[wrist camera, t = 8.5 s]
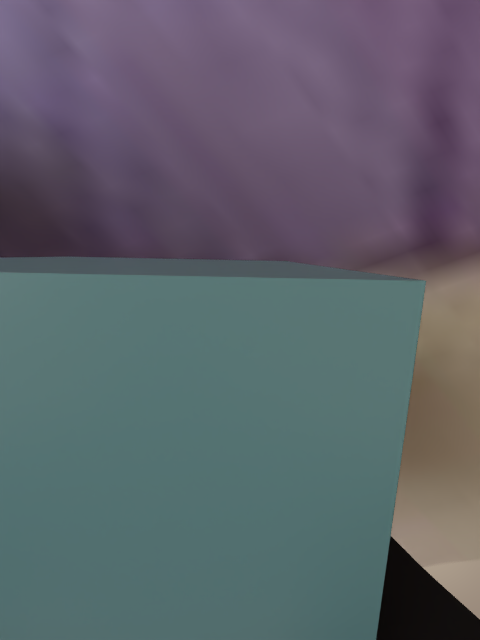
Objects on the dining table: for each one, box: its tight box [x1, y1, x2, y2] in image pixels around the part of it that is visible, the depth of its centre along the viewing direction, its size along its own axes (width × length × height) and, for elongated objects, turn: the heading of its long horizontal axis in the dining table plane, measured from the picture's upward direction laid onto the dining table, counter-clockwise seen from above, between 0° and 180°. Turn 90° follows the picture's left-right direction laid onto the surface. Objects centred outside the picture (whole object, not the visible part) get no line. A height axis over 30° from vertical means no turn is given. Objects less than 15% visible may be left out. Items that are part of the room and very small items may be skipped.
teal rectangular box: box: [0, 257, 426, 640], centre depth 6 cm, size 6×10×6 cm, turn 179°
